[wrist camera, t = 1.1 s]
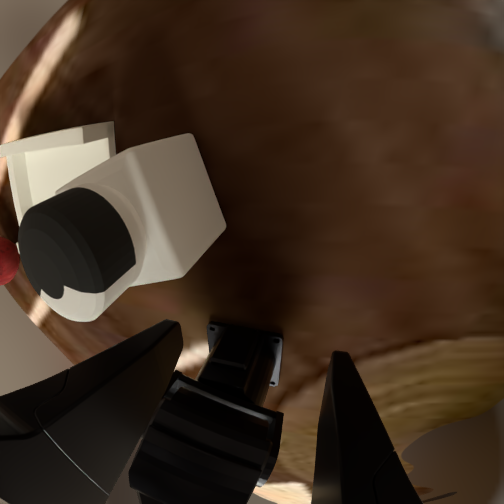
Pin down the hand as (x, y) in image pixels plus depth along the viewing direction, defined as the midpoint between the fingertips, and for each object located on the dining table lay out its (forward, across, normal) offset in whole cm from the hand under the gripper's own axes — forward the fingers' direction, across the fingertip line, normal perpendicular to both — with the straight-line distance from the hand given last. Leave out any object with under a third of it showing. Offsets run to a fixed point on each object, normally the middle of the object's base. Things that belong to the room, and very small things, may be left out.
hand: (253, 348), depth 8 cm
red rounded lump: (+13, +34, +8) cm, 37 cm away
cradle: (+13, +21, 0) cm, 25 cm away
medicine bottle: (+13, +10, 0) cm, 16 cm away
